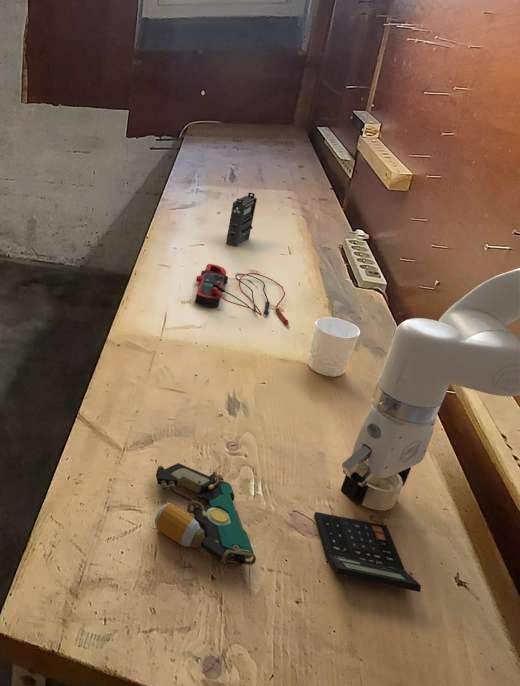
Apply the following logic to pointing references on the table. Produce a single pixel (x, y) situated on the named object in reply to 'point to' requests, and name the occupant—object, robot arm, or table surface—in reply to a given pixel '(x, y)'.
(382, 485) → the bowl
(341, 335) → the white cup
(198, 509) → the spray gun
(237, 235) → the geiger counter
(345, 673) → the table surface
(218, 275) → the digital clamp meter
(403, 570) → the calculator
